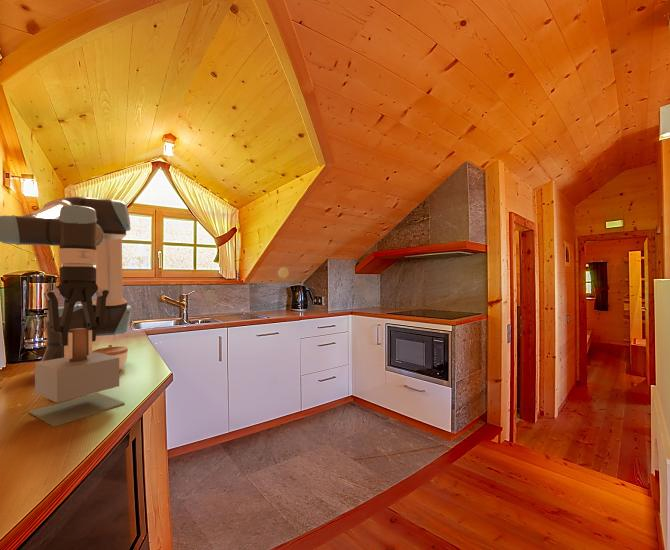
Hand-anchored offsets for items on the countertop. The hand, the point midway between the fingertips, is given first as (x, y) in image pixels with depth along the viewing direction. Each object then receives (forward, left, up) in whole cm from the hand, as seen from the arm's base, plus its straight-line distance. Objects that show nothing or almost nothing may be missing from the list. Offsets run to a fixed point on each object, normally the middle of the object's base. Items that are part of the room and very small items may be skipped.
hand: (78, 356), depth 83 cm
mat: (0, 0, -14) cm, 14 cm away
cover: (0, 0, -9) cm, 9 cm away
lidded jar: (-21, -30, -14) cm, 39 cm away
